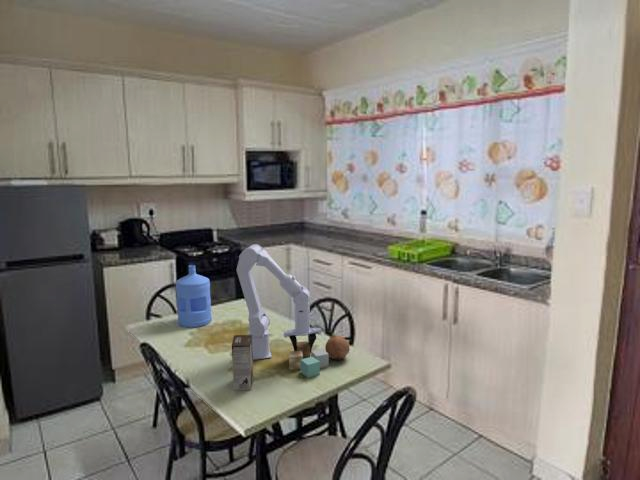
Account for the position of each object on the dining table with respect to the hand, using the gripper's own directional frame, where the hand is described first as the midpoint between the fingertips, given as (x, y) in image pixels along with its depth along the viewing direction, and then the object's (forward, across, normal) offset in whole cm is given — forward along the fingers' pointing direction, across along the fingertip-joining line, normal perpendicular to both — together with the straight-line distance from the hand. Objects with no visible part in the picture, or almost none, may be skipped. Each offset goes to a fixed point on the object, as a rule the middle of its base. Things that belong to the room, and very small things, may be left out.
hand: (302, 352), depth 172 cm
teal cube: (+2, 0, -14) cm, 14 cm away
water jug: (+2, -43, +51) cm, 67 cm away
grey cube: (+2, +5, -8) cm, 10 cm away
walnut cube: (+1, 0, 0) cm, 1 cm away
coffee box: (+2, -24, -16) cm, 29 cm away
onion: (+2, +13, -4) cm, 14 cm away
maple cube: (+2, -4, -7) cm, 8 cm away
